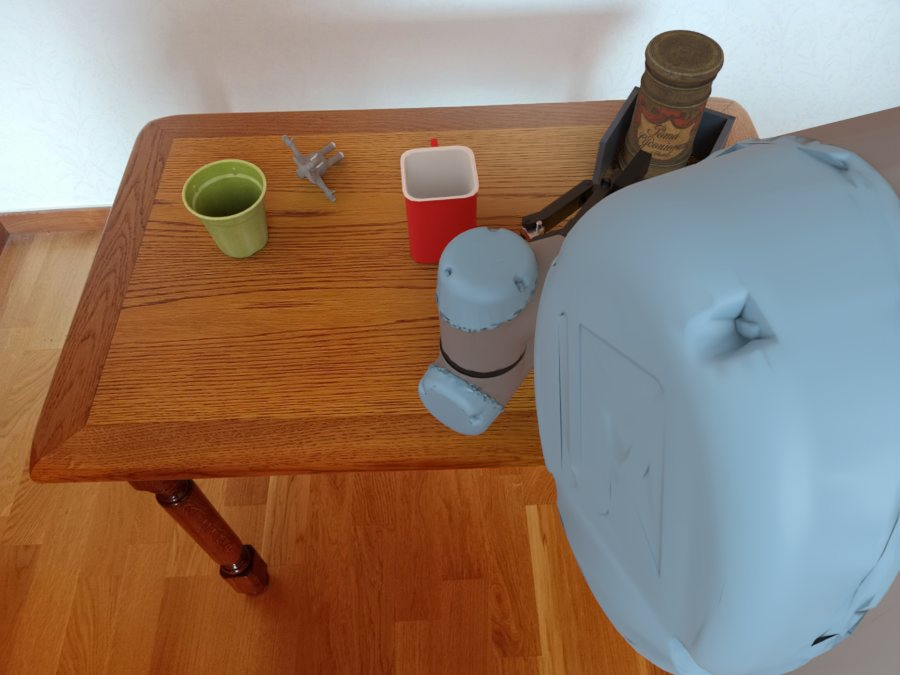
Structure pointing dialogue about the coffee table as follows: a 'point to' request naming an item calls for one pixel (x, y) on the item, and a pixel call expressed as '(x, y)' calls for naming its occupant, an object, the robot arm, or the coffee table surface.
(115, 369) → the coffee table surface
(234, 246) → the plant pot
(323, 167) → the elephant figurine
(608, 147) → the grey u-shaped piece
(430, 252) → the mug
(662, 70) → the container
